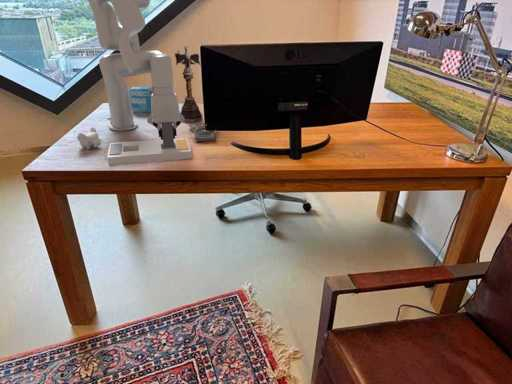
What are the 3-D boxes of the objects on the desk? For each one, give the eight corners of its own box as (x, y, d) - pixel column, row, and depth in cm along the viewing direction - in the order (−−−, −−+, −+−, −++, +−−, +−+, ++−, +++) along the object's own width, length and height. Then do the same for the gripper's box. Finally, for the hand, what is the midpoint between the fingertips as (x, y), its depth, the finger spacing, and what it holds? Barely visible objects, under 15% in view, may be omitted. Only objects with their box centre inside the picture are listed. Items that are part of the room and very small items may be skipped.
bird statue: (178, 112, 187) (172, 40, 169) (203, 112, 188) (200, 40, 170) (173, 122, 173) (167, 45, 155) (201, 123, 174) (198, 46, 156)
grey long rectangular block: (163, 147, 138) (160, 113, 131) (163, 144, 141) (159, 110, 135) (174, 147, 139) (171, 113, 132) (173, 143, 142) (170, 110, 136)
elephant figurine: (95, 152, 139) (92, 135, 136) (75, 149, 142) (71, 132, 138) (108, 145, 146) (105, 129, 142) (88, 142, 148) (84, 125, 145)
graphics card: (188, 123, 164) (215, 122, 166) (189, 130, 166) (215, 130, 168) (187, 136, 150) (216, 135, 151) (188, 145, 152) (216, 144, 153)
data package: (131, 112, 184) (128, 88, 178) (133, 109, 188) (130, 86, 182) (155, 112, 185) (153, 89, 179) (156, 110, 189) (154, 87, 183)
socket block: (108, 165, 130) (107, 156, 129) (111, 150, 142) (109, 142, 140) (191, 158, 138) (191, 150, 136) (187, 144, 150) (187, 137, 148)
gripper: (139, 94, 124) (145, 143, 133) (187, 92, 129) (190, 140, 138) (139, 88, 131) (145, 136, 140) (185, 87, 135) (188, 133, 144)
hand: (167, 137), depth 138 cm, fingers closed on grey long rectangular block, 4 cm apart
